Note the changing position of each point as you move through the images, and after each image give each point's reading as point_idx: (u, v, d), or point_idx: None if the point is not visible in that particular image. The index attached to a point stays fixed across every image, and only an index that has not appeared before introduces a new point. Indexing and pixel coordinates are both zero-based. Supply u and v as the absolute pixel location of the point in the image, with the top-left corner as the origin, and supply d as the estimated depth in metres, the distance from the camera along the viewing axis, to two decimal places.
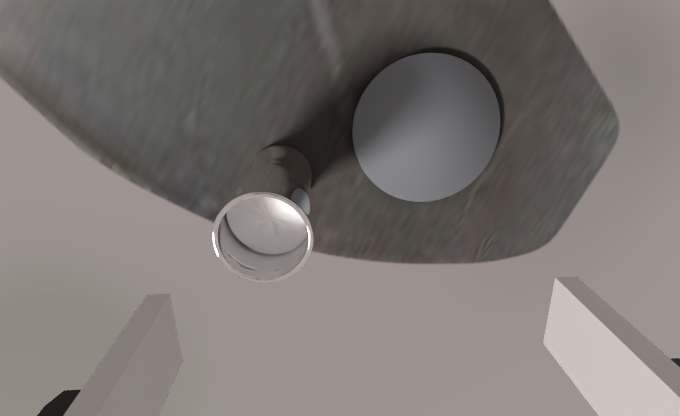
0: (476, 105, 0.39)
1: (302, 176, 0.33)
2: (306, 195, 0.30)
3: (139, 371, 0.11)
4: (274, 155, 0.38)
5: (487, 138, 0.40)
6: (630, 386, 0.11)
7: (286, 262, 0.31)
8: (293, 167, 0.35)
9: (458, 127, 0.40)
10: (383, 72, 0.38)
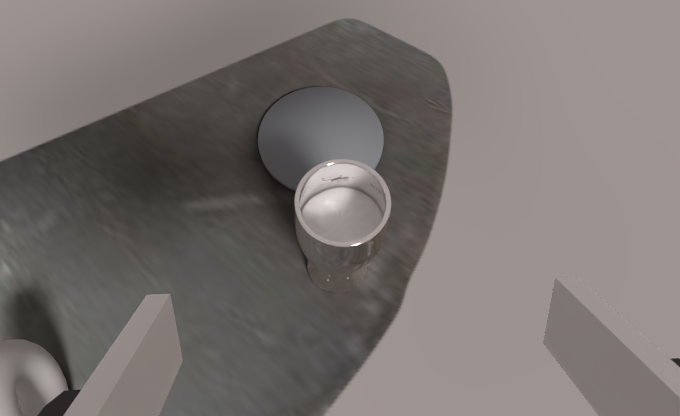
0: (307, 101, 0.49)
1: None
2: None
3: (139, 371, 0.11)
4: None
5: (336, 95, 0.50)
6: (630, 386, 0.11)
7: (384, 205, 0.31)
8: None
9: (322, 114, 0.49)
10: (265, 162, 0.46)
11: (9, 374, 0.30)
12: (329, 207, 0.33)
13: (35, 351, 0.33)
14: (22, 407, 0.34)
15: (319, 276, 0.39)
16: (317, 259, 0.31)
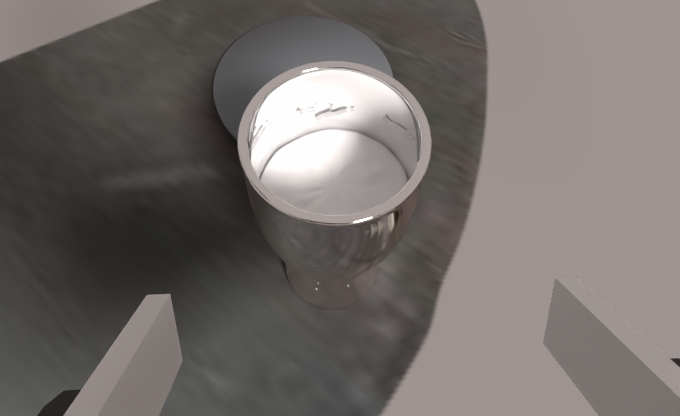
0: (284, 35, 0.35)
1: None
2: None
3: (139, 371, 0.11)
4: None
5: (325, 27, 0.35)
6: (630, 386, 0.11)
7: (413, 152, 0.17)
8: None
9: (305, 52, 0.34)
10: (222, 118, 0.31)
11: None
12: (312, 162, 0.18)
13: None
14: None
15: (303, 283, 0.24)
16: (290, 254, 0.16)
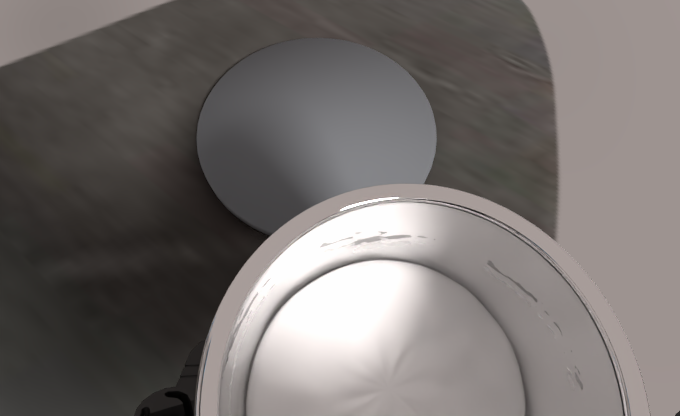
0: (291, 63, 0.27)
1: None
2: None
3: None
4: None
5: (343, 52, 0.27)
6: None
7: (549, 345, 0.09)
8: None
9: (319, 86, 0.26)
10: (208, 177, 0.23)
11: None
12: (348, 333, 0.10)
13: None
14: None
15: None
16: None
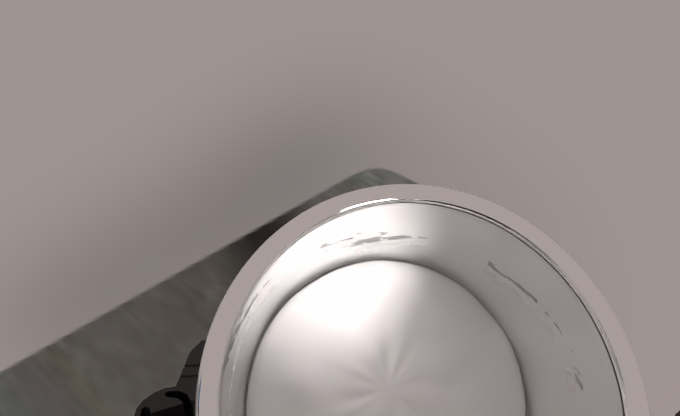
0: None
1: None
2: None
3: None
4: None
5: None
6: None
7: (549, 346, 0.09)
8: None
9: None
10: None
11: None
12: (348, 334, 0.10)
13: None
14: None
15: None
16: None
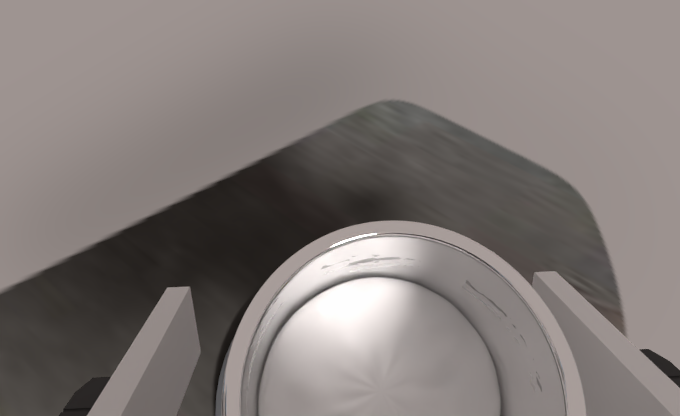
0: None
1: None
2: None
3: (164, 359, 0.12)
4: None
5: None
6: (600, 376, 0.11)
7: (517, 353, 0.10)
8: None
9: None
10: None
11: None
12: (346, 343, 0.12)
13: None
14: None
15: None
16: None
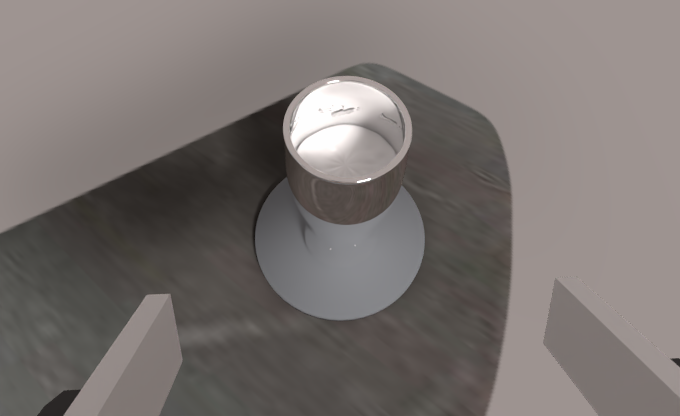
0: None
1: None
2: None
3: (139, 371, 0.11)
4: None
5: None
6: (630, 386, 0.11)
7: (401, 139, 0.24)
8: None
9: None
10: (265, 273, 0.34)
11: None
12: (329, 147, 0.25)
13: None
14: None
15: (319, 245, 0.32)
16: (316, 210, 0.23)
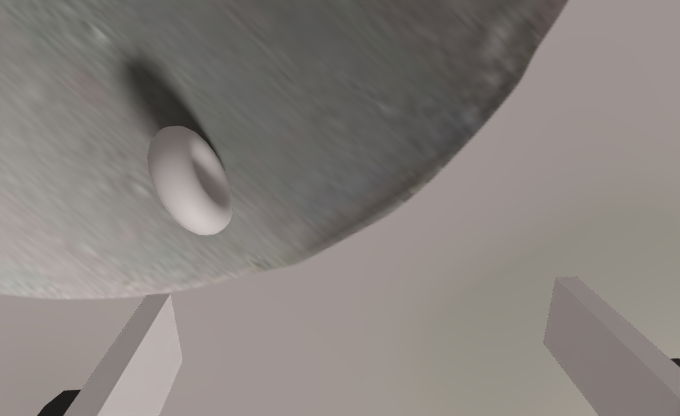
0: None
1: None
2: None
3: (139, 371, 0.11)
4: None
5: None
6: (630, 386, 0.11)
7: None
8: None
9: None
10: None
11: (191, 169, 0.33)
12: None
13: (191, 138, 0.36)
14: None
15: None
16: None
